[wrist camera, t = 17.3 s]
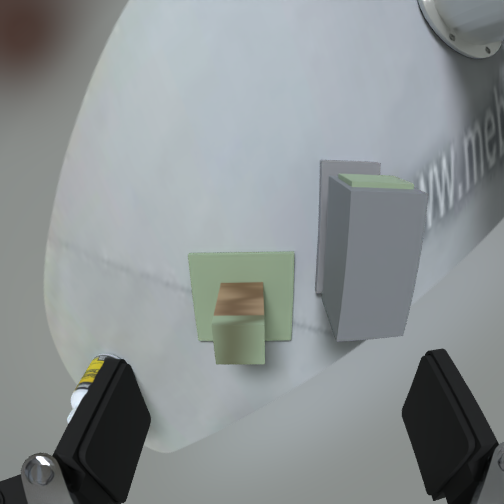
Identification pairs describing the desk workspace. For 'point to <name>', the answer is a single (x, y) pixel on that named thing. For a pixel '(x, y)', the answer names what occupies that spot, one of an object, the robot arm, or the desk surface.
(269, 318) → the mat
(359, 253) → the mounted unit
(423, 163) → the desk surface
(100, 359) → the pill bottle
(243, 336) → the brown and green block
